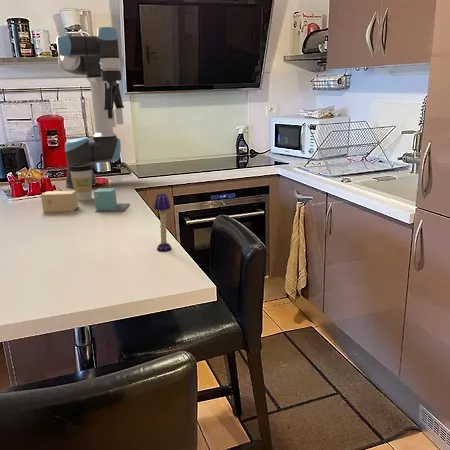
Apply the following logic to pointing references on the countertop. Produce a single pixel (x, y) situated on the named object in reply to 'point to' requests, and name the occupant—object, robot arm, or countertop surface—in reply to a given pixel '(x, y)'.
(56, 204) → the tan cardboard box
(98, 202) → the teal cube
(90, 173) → the coffee cup
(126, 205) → the pad
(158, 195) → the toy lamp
